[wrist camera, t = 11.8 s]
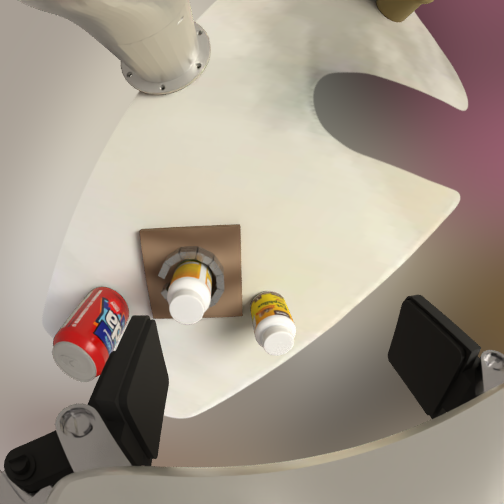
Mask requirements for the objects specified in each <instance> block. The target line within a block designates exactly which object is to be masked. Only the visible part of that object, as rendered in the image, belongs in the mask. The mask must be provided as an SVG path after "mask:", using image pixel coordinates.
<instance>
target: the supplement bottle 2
mask: <svg viewBox="0 0 504 504" xmlns="http://www.w3.org/2000/svg"><path fill="white" fill-rule="evenodd" d="M250 309H251V316H252V322H253V327H254V333H255V338H256V341H257V342H258V344H259V345H260V346H262V347H263V348H264V350H265V351H266V352H267V353H268V354H270V355H275V356H278V355H283V354H285V353H287V352H288V351H290V350H291V348H292V347H293V344H294V337H295V334H296V327H295V324H294V322H293V319H292V317H291V314H290V312H289V309H288V307H287V305H286V302H285V300H284V298H283V297H282V296H281V295H280V294H279V293H277V292H273V291H265V292H262V293H260V294H258V295H257V296H256V297H255V298H254V299H253V301H252V303H251V307H250Z"/></svg>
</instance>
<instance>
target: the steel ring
mask: <svg viewBox="0 0 504 504" xmlns="http://www.w3.org/2000/svg"><path fill="white" fill-rule="evenodd" d="M185 259H196V260H198V261H200V262H203V263H205V264H207V265H208V266H209V267H210V268H211V270H212V271H213V273H214V274H215V275H216V282H217V283H216V285H215V286H214V288H213V290H212V292H211V301H210V305H209V307H208V309H209V308H210V307H212V306H214V305H216V303H217V302H218V301H219V299H220V297H221V296H222V294H223V292H224V268H223V266H222V265H221V263H220V262H219V260H218V259H217V257H216V256H215V254H214V255H213V253H212V252H210V251H208V250H206V249H204V248H201V247H199V248H198V246H187V247H182V248H181V247H180V248H179V249H177V250H175V251H174V252H172V253H171V254H169V255H168V256H167V258H166V260H165V261H164V264H163V266H162V268H161V270H160V272H159V275H158V276H159V277H161V278H163V279H165V277H166V275H167V273H168V270H169V268H170V267H171V266H172V265H174V264H175V263H177V262H179V261H180V260H185ZM169 286H170V283H167V284H165V285H164V286H163V288H162V291H161V294H162V295H163V297H164V298H165V299H166V301H167V302H168V300H167V293H168V289H169Z"/></svg>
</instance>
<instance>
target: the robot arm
mask: <svg viewBox="0 0 504 504" xmlns="http://www.w3.org/2000/svg"><path fill="white" fill-rule="evenodd" d="M18 1H20V2H22V3H23V4H25V5H28V6H30V7H33V8H35V9H38V10H42V11H45V12H48V13H52V14H55V15H59V16H61V17H64V18H66V19H68V20H70V21H72V22H74V23H75V24H77V25H79V26H80V27H81V28H82V29H84V30H85V31H86V32H88V33H89V34H90V35H92V36H93V37H94V38H95V39H96V40H97V41H99V42H100V43H101V44H102V45H103V46H104V47H106V48H107V49H108V50H109V51H110V52H112V53H113V54H114V55H115V56H116V57H117V58H118V59H119V60H121V69H122V73H123V75H124V77H125V79H126V80H127V81H128V83H129V84H130V85H131V86H133V87H134V88H136V89H137V90H139V91H141V92H144V93H147V94H155V95H160V94H168V93H172V92H176V91H178V90H181V89H183V88H185V87H186V86H188V85H190V84H191V83H192V82H193V81H195V80H196V79H197V78H198V77H199V76H200V75H201V73H202V72H203V71H204V69H205V68H206V66H207V64H208V61H209V58H210V52H211V47H210V41H209V37H208V35H207V33H206V31H205V30H204V29H203V28H202V27H201V26H200V25H199V24H197V23H196V22H194V21H193V16H192V11H191V6H190V2H189V0H18ZM199 34H201V35H199ZM197 67H201V68H200V69H197ZM130 75H132V76H131V77H130ZM162 88H165V89H164V90H162ZM480 349H481V347H480V346H479V345H478V344H477V343H476V342H474V341H473V340H472V339H471V338H470V337H469V336H468V335H467V334H466V333H464V332H463V331H462V330H461V329H460V328H459V327H458V326H457V325H456V324H454V323H453V322H452V321H451V320H450V319H449V318H447V317H446V316H445V315H444V314H443V313H442V312H440V311H439V310H438V309H437V308H436V307H434V306H433V305H432V304H431V303H430V302H429V301H427V300H426V299H425V298H424V297H423V296H421V295H414V296H408V297H407V298H406V299H405V301H404V302H403V303H402V307H401V310H400V314H399V318H398V322H397V325H396V329H395V332H394V336H393V339H392V342H391V346H390V349H389V352H388V359H389V362H390V363H391V364H392V366H393V367H394V369H395V370H396V371H397V373H398V374H399V376H400V377H401V378H402V380H403V381H404V383H405V384H406V385H407V387H408V388H409V390H410V391H411V393H412V394H413V395H414V396H415V398H416V400H417V401H418V403H419V404H420V405H421V407H422V408H423V410H424V411H425V413H426V414H427V415H430V416H431V418H432V420H430V421H427V422H425V423H422V424H420V425H418V426H415V427H413V428H410V429H408V430H405V431H402V432H400V433H397V434H394V435H392V436H388V437H386V438H383V439H380V440H377V441H373V442H370V443H367V444H363V445H360V446H356V447H353V448H349V449H345V450H341V451H338V452H333V453H328V454H324V455H319V456H314V457H309V458H304V459H298V460H292V461H285V462H278V463H270V464H261V465H250V466H233V467H213V468H211V467H210V468H209V467H208V468H189V467H155V466H151V463H152V459H156V458H157V456H158V449H159V442H160V435H161V428H162V422H163V415H164V409H165V403H166V397H167V391H168V386H169V378H168V373H167V369H166V365H165V361H164V357H163V353H162V349H161V345H160V340H159V336H158V331H157V326H156V322H155V320H150V317H149V316H132V318H131V320H130V322H129V324H128V326H127V328H126V330H125V332H124V334H123V336H122V338H121V341H120V343H119V345H118V347H117V349H116V351H112V352H111V353H110V355H109V357H108V359H107V361H106V363H105V366H104V368H103V370H102V372H101V374H100V377H99V379H98V381H97V383H96V386H95V388H94V391H93V393H92V395H91V398H90V400H89V403H88V405H86V404H74V405H70V406H68V407H66V408H64V409H63V410H62V411H61V412H60V413H59V414H58V416H57V418H56V422H55V427H56V430H55V431H54V432H51V433H49V434H47V435H45V436H43V437H40V438H38V439H36V440H33V441H31V442H29V443H27V444H24V445H22V446H19V447H17V448H15V449H13V450H11V451H10V452H9V453H8V455H7V456H6V459H5V462H4V468H5V470H4V471H3V472H2V471H1V470H0V504H504V355H503V354H502V353H500V352H497V351H494V350H487V351H485V352H483V353H482V355H481V357H480V358H479V357H478V354H479V351H480ZM446 412H447V413H446Z"/></svg>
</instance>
